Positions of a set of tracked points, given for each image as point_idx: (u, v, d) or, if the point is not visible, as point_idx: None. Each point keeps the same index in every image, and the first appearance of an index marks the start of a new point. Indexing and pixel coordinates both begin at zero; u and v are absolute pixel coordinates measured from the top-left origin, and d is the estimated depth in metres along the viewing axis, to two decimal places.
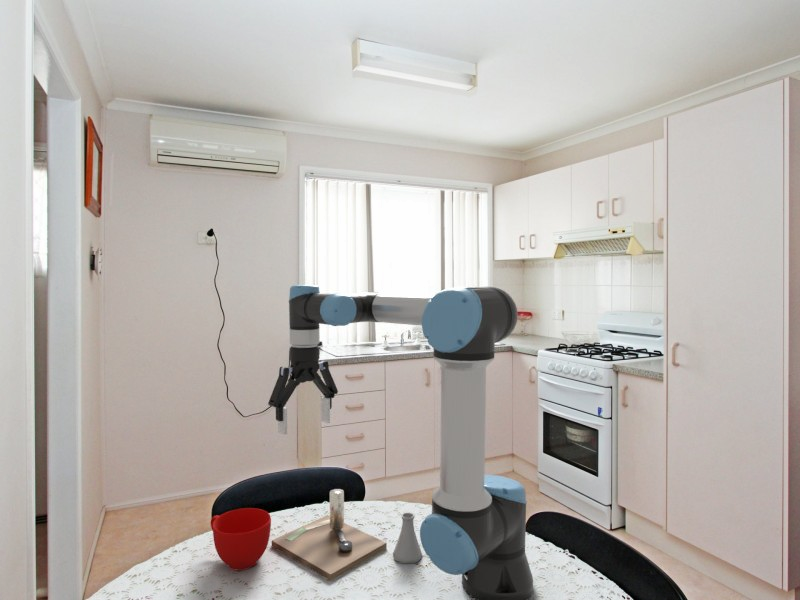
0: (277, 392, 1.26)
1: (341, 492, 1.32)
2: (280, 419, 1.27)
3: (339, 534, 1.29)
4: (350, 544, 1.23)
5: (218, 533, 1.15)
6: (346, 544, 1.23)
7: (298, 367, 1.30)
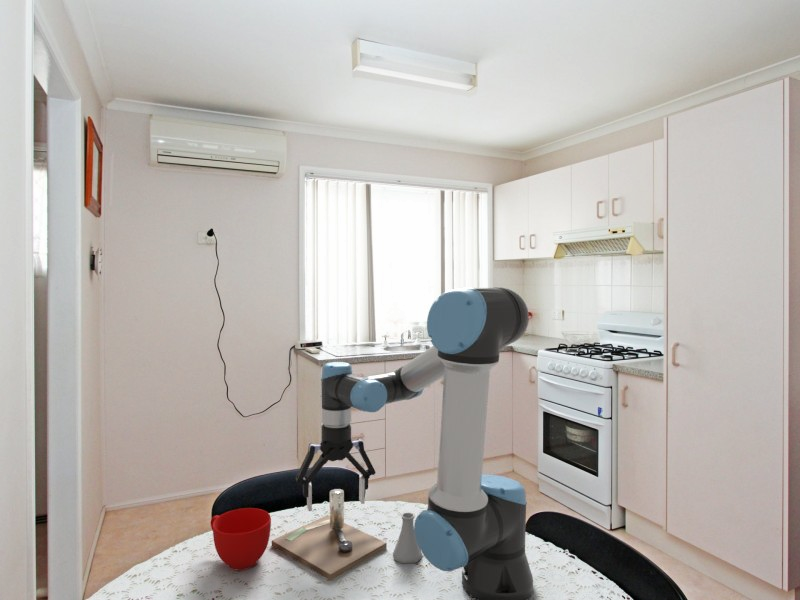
0: (302, 469, 1.29)
1: (341, 492, 1.32)
2: (305, 495, 1.30)
3: (339, 534, 1.29)
4: (350, 544, 1.23)
5: (218, 533, 1.15)
6: (346, 544, 1.23)
7: (326, 446, 1.30)
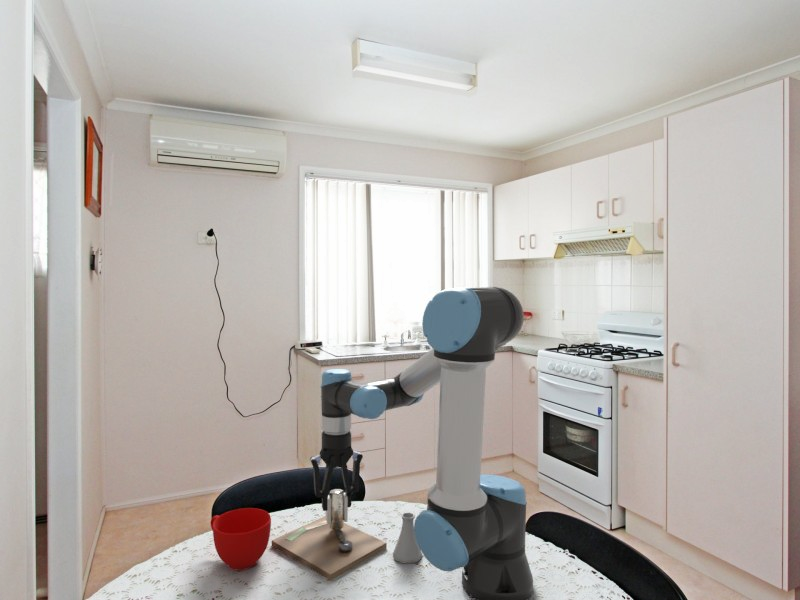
0: (315, 483, 1.30)
1: (341, 492, 1.32)
2: (324, 509, 1.31)
3: (339, 534, 1.29)
4: (350, 544, 1.23)
5: (218, 533, 1.15)
6: (346, 544, 1.23)
7: (325, 453, 1.30)
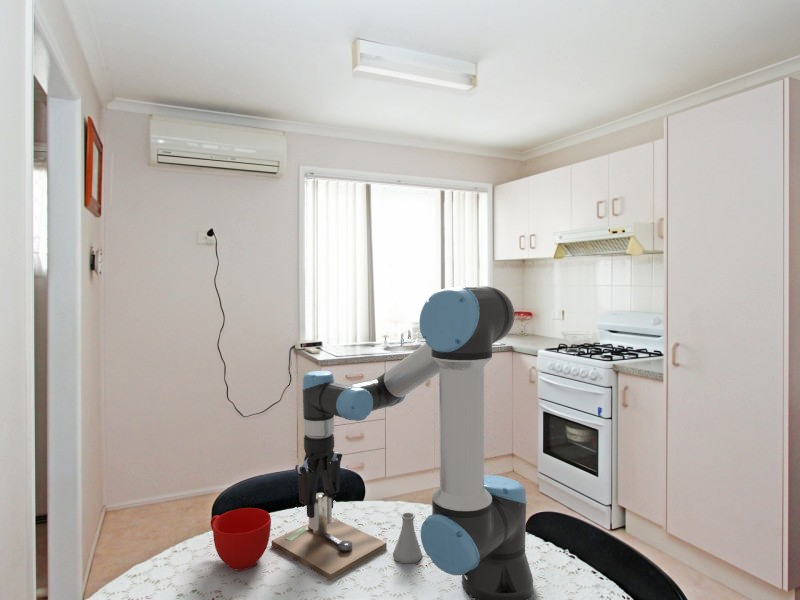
0: (303, 492, 1.25)
1: (325, 495, 1.30)
2: (311, 516, 1.27)
3: (330, 537, 1.27)
4: (350, 543, 1.24)
5: (218, 533, 1.15)
6: (346, 544, 1.24)
7: (312, 458, 1.27)
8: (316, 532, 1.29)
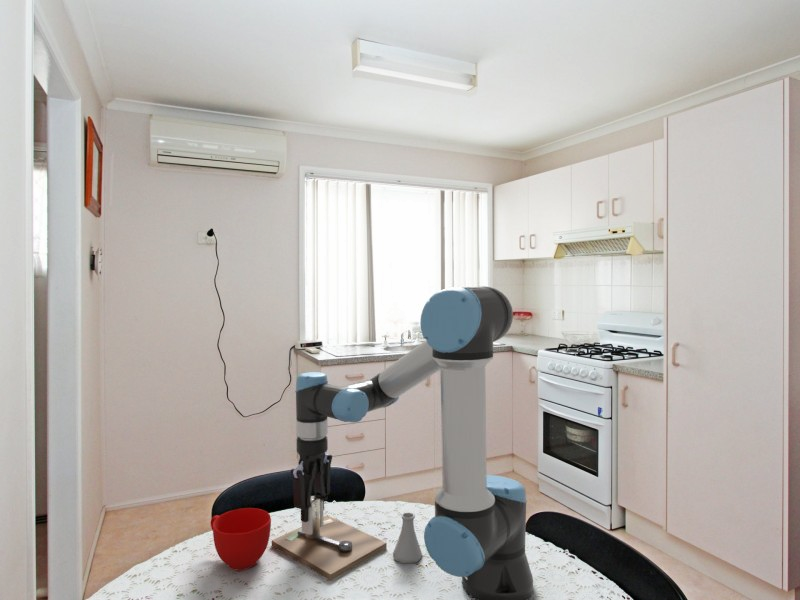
0: (299, 496, 1.23)
1: (317, 498, 1.29)
2: (306, 520, 1.25)
3: (326, 539, 1.26)
4: (350, 542, 1.24)
5: (218, 533, 1.15)
6: (346, 543, 1.24)
7: (307, 461, 1.25)
8: (310, 536, 1.27)
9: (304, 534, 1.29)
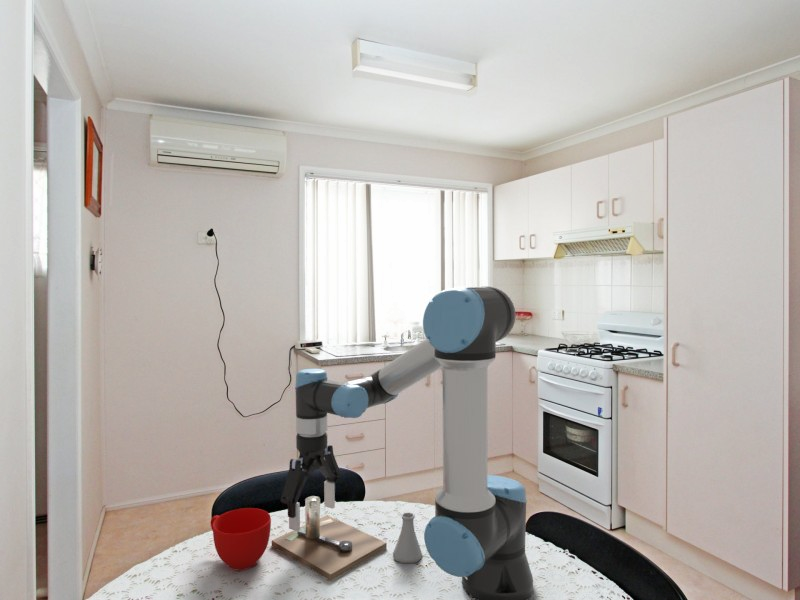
0: (290, 488, 1.20)
1: (317, 498, 1.29)
2: (293, 515, 1.21)
3: (326, 539, 1.26)
4: (350, 542, 1.24)
5: (218, 533, 1.15)
6: (346, 543, 1.24)
7: (308, 457, 1.25)
8: (310, 536, 1.27)
9: (304, 534, 1.29)
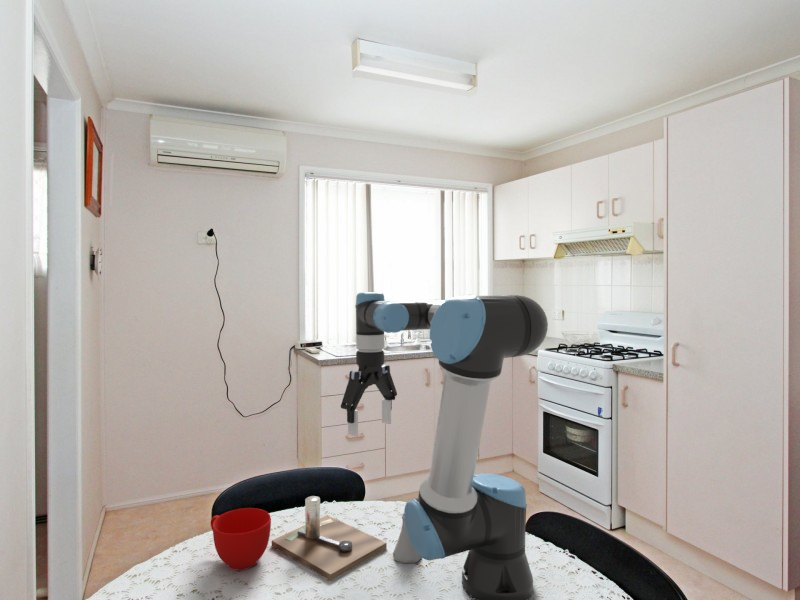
0: (349, 395, 1.32)
1: (317, 498, 1.29)
2: (352, 421, 1.33)
3: (326, 539, 1.26)
4: (350, 542, 1.24)
5: (218, 533, 1.15)
6: (346, 543, 1.24)
7: (366, 371, 1.36)
8: (310, 536, 1.27)
9: (304, 534, 1.29)
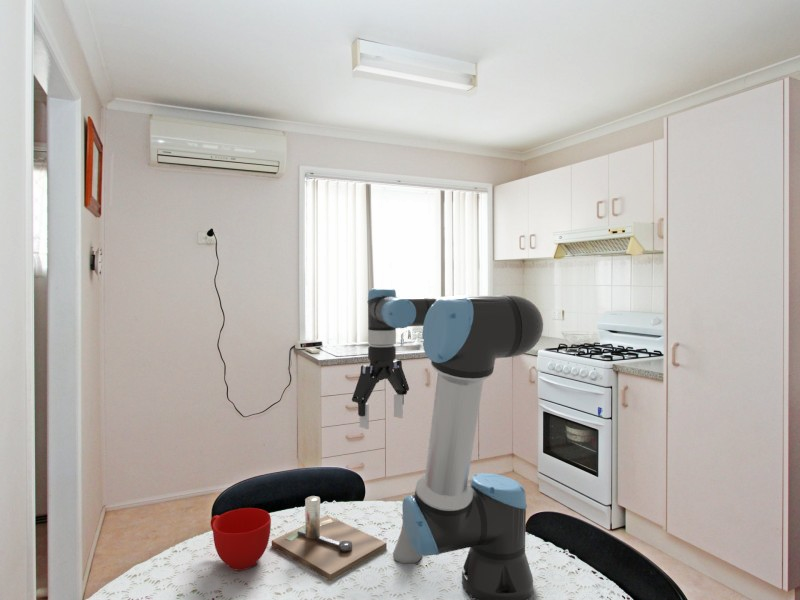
0: (360, 389, 1.34)
1: (317, 498, 1.29)
2: (363, 414, 1.35)
3: (326, 539, 1.26)
4: (350, 542, 1.24)
5: (218, 533, 1.15)
6: (346, 543, 1.24)
7: (377, 365, 1.39)
8: (310, 536, 1.27)
9: (304, 534, 1.29)
